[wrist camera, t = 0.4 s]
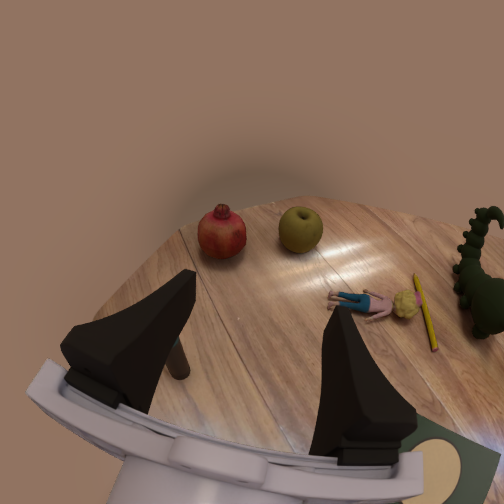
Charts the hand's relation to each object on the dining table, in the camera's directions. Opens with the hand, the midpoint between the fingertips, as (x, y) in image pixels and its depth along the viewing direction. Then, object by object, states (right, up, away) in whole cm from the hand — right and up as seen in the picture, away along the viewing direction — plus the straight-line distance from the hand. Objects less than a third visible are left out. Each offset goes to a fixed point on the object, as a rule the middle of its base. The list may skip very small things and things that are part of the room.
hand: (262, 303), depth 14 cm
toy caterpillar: (+41, -8, +26) cm, 49 cm away
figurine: (+18, -7, +26) cm, 33 cm away
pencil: (+28, -7, +26) cm, 39 cm away
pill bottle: (-10, -12, +18) cm, 24 cm away
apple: (+8, +3, +37) cm, 38 cm away
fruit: (-6, +2, +34) cm, 35 cm away
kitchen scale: (+23, -27, +5) cm, 36 cm away
